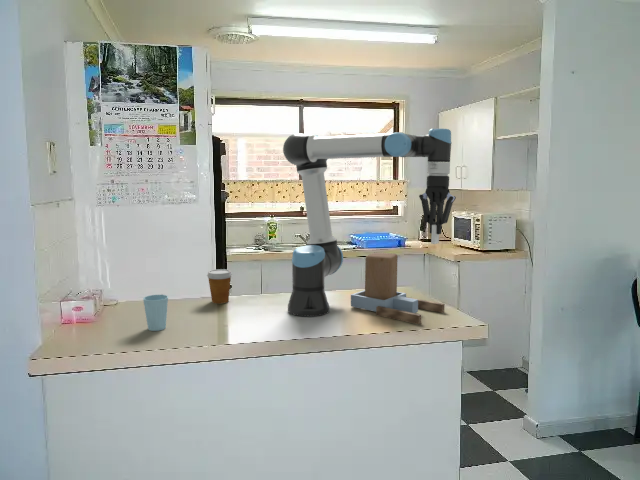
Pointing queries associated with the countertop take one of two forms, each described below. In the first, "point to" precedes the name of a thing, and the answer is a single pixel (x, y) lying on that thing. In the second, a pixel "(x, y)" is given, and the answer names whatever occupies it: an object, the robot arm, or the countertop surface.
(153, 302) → the cup
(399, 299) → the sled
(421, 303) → the rails
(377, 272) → the wooden block
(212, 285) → the disposable coffee cup
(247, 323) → the countertop surface
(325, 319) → the countertop surface
